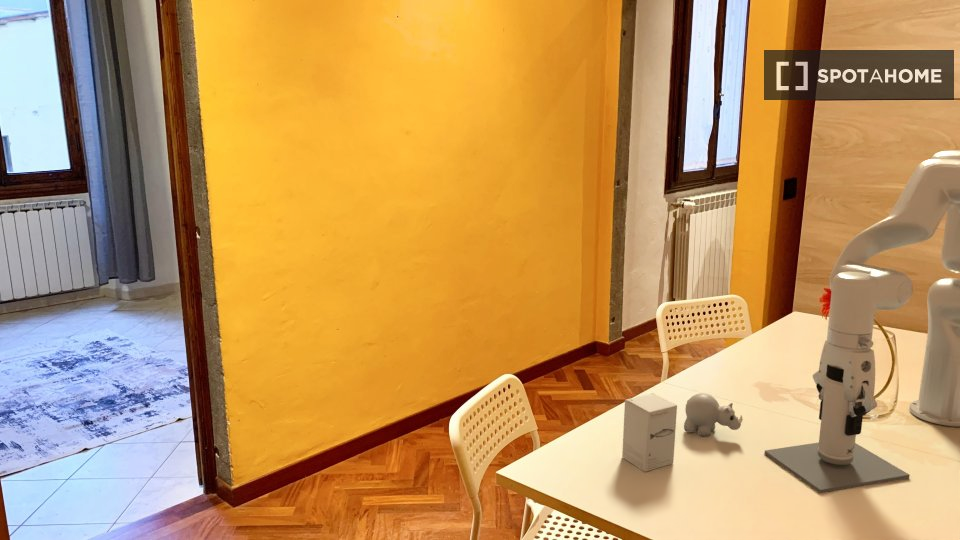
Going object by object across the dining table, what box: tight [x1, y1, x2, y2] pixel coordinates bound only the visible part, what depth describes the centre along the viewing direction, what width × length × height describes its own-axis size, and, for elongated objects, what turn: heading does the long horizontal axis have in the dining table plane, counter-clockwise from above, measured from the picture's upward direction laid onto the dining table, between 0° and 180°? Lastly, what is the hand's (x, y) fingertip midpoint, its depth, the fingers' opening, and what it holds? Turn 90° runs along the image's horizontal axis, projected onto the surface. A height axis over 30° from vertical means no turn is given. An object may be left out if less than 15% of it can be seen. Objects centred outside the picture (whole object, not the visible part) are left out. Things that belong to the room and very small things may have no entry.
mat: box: [763, 441, 910, 494], centre depth 144 cm, size 20×16×1 cm
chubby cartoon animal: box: [683, 393, 743, 437], centre depth 157 cm, size 7×12×8 cm, turn 54°
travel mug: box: [818, 362, 859, 465], centre depth 141 cm, size 6×7×20 cm
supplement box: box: [621, 393, 678, 473], centre depth 145 cm, size 7×7×13 cm
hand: (839, 425), depth 142 cm, fingers closed on travel mug, 6 cm apart
